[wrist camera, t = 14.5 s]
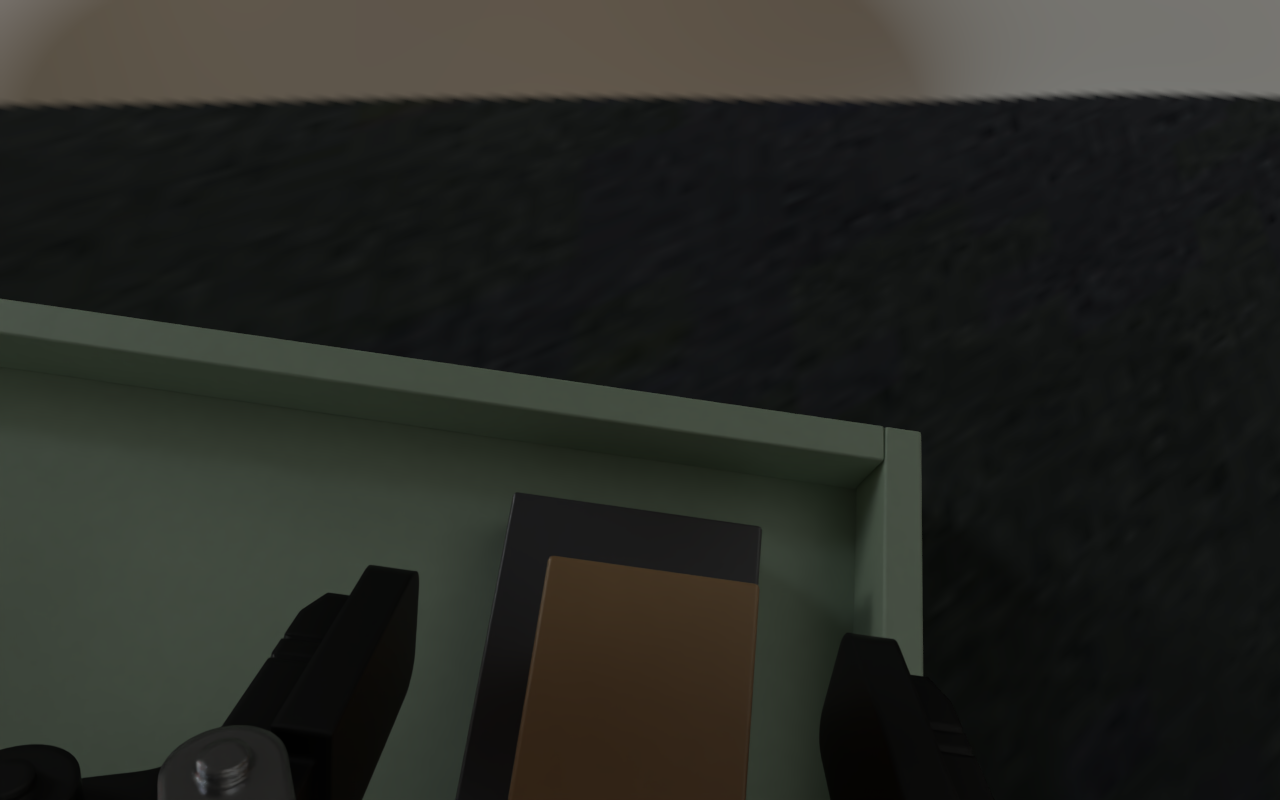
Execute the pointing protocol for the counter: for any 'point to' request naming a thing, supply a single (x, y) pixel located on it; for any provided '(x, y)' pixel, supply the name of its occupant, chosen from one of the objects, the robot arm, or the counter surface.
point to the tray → (385, 528)
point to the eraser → (616, 657)
